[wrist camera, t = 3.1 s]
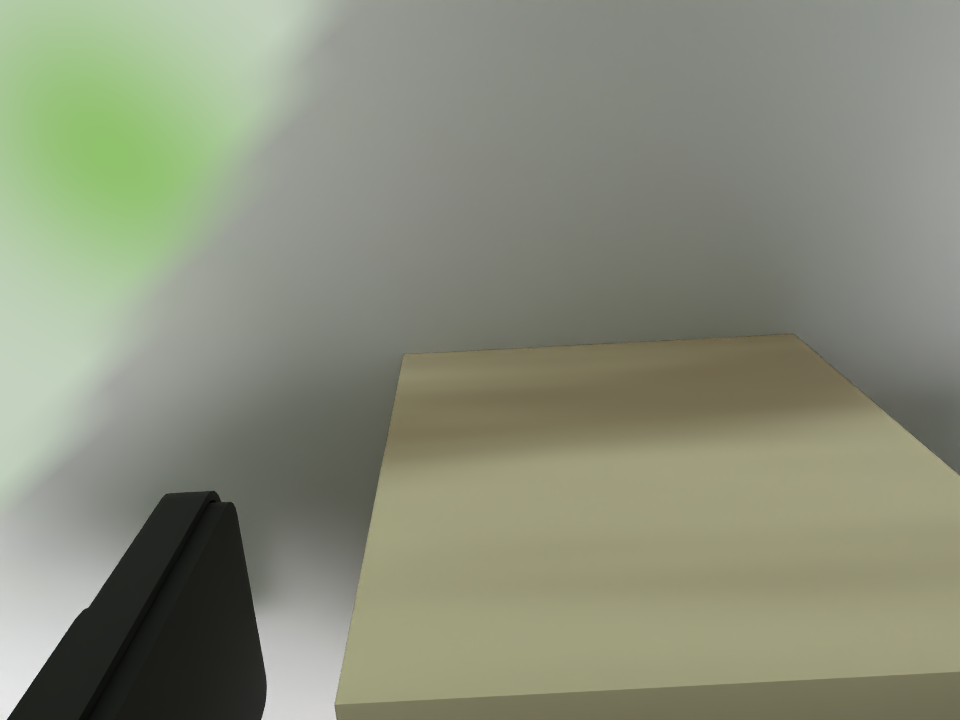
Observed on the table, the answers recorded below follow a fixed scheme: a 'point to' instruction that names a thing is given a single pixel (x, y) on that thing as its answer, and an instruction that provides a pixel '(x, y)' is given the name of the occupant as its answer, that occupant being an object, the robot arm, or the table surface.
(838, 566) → the maple block
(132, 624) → the robot arm
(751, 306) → the table surface
